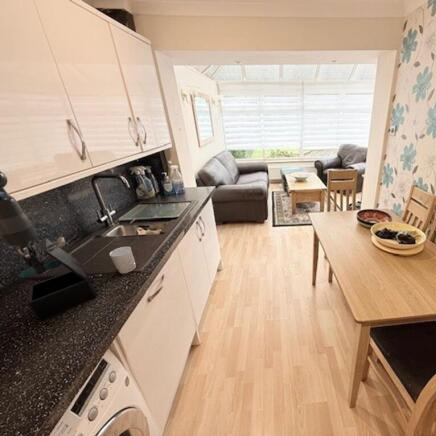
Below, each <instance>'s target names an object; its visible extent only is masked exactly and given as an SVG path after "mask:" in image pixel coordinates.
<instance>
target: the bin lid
mask: <svg viewBox="0 0 436 436" xmlns="http://www.w3.org/2000/svg"><path fill="white" fill-rule="evenodd" d="M64 246H66V239H65V237H63V236H59V237H57V240H56V241H54V242H53V241H51V240H50V239H49V238H47V237H45V238H44V239H43V254H45V255H47V256H48V257H49V258H51V259H52V260H54V261H57V262H59V263H60V264H61V266H63V267H65V268H66V269H67V270H68V271H69V272H70V271H72V272H73V273H75V274H76V275H78V276H79V277H81V278H82V279H84V280H86V279H87V276H86V273H87V272H86V270H85V265H84V264H83V263H81V262H80V261H78V259H76V258H75V257H73V256H72V255H70V254H69V253H68V252H66V251H65V250H64V249H62V248H61V247H64ZM85 272H86V273H85Z"/></svg>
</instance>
